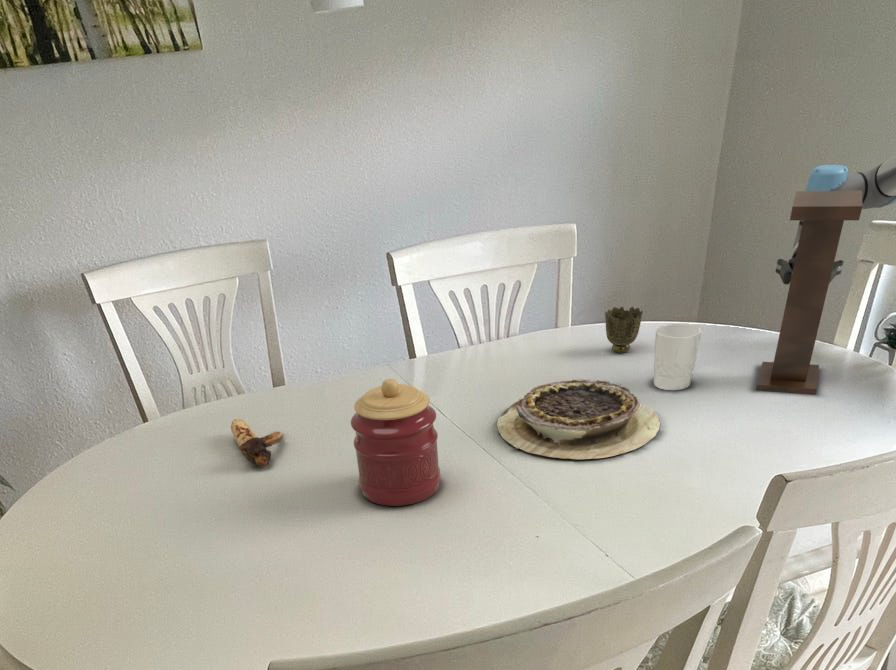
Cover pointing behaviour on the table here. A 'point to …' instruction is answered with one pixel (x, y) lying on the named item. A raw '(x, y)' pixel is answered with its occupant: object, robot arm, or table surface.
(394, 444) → the kitchen canister
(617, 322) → the cup
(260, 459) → the lashed bone hook
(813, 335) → the stand
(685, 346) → the white cup
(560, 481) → the table surface
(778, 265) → the robot arm
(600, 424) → the pie
